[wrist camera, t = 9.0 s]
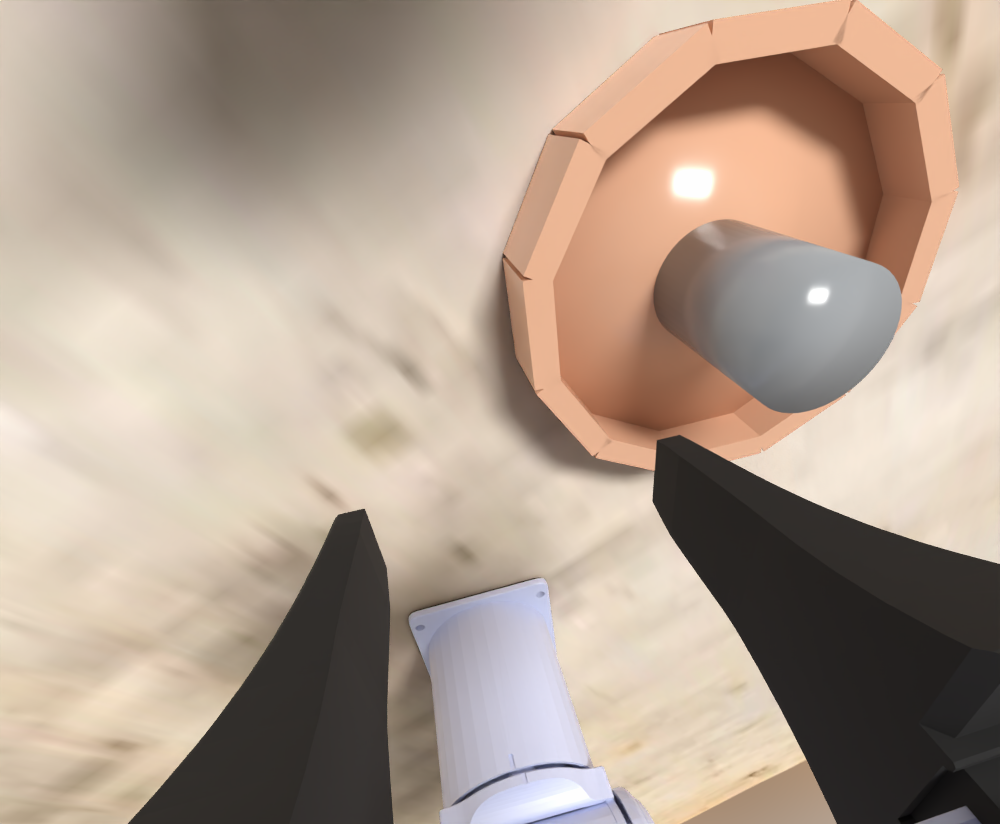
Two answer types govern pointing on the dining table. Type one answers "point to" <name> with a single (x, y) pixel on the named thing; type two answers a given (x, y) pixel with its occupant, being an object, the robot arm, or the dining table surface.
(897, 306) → the grey cylinder
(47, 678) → the dining table surface
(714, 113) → the bowl
